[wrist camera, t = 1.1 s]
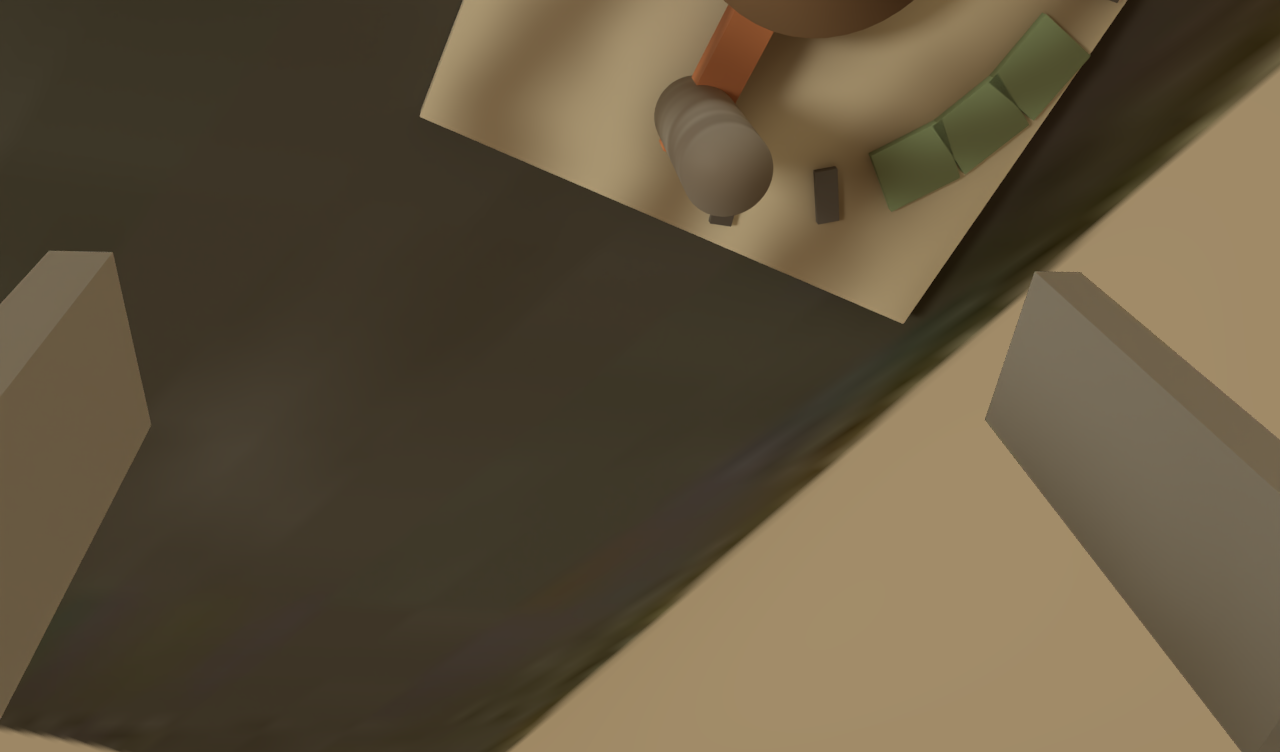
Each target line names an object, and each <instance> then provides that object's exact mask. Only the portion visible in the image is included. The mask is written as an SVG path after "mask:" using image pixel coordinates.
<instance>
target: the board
mask: <svg viewBox="0 0 1280 752" xmlns="http://www.w3.org/2000/svg"><path fill="white" fill-rule="evenodd" d="M1126 1H1127V0H913V1H912V2H911V3H910V4H908V5H907V6H906V7H904V8H903V9H902V10H900V11H899V12H897V13H896V14H894V15H892V16H891V17H889V18H887V19H886V20H884V21H882V22H880V23H878V24H875V25H873V26H871V27H869V28H866V29H864V30H861V31H857V32H854V33H851V34H847V35H843V36H836V37H830V38H801V37H793V36H788V35H784V34H780V33H777V32H773V34H772V36H771V38H770V40H769V42H768V44H767V45H766V47H765V49H764V51H763V53H762V55H761V57H760V58H759V60H758V62H757V64H756V66H755V68H754V70H753V72H752V73H751V75H750V77H749V79H748V81H747V83H746V85H745V86H744V88H743V90H742V92H741V94H740V96H739V98H738V100H737V101H736V103H735V104H736V105H737V107H738V108H739V109H740V111H741V112H742V113H743V115H744V116H745V117H746V119H747V120H748V121H749V122H750V124H751V125H752V126H753V128H754V129H755V130H756V132H757V133H758V134H759V136H760V137H761V138H762V140H763V141H764V142H765V144H766V145H767V147H768V148H769V150H770V153H771V156H772V160H773V176H772V181H771V183H770V186H769V188H768V190H767V192H766V193H765V195H764V196H763V198H762V199H761V200H760V201H759V202H758V203H757V204H756V205H755V206H753V207H752V208H751V209H749V210H747V211H745V212H743V213H741V214H738V215H734V216H727V217H720V216H714V215H710V214H707V213H705V212H703V211H701V210H700V209H698V208H697V207H696V206H695V205H694V204H693V203H692V202H691V201H690V199H689V198H688V196H687V194H686V192H685V190H684V188H683V186H682V184H681V182H680V179H679V177H678V175H677V173H676V171H675V169H674V167H673V165H672V162H671V160H670V158H669V156H668V154H667V152H665V151H663V149H662V147H661V144H660V142H659V140H660V137H659V135H658V132H657V130H656V127H655V121H654V113H655V107H656V104H657V101H658V99H659V97H660V95H661V94H662V92H663V91H664V90H665V89H666V88H667V87H668V86H669V85H670V84H671V83H673V82H674V81H676V80H678V79H680V78H682V77H686V76H691V75H693V73H694V71H695V69H696V67H697V65H698V63H699V61H700V59H701V57H702V55H703V53H704V51H705V49H706V47H707V45H708V43H709V41H710V39H711V37H712V35H713V34H714V32H715V30H716V28H717V26H718V24H719V22H720V20H721V18H722V16H723V14H724V12H725V10H726V8H727V6H728V4H727V3H726V2H725V1H724V0H463V1H462V4H461V6H460V9H459V12H458V14H457V17H456V19H455V22H454V25H453V27H452V30H451V33H450V35H449V38H448V40H447V43H446V46H445V48H444V51H443V53H442V56H441V59H440V61H439V64H438V66H437V69H436V72H435V74H434V77H433V79H432V82H431V85H430V87H429V90H428V92H427V95H426V98H425V100H424V103H423V105H422V109H421V114H420V117H421V118H424V119H426V120H428V121H431V122H433V123H435V124H438V125H440V126H442V127H445V128H447V129H449V130H452V131H454V132H456V133H459V134H461V135H463V136H466V137H468V138H470V139H473V140H475V141H477V142H480V143H482V144H484V145H487V146H489V147H491V148H494V149H496V150H498V151H501V152H503V153H505V154H508V155H510V156H512V157H515V158H517V159H519V160H522V161H524V162H526V163H529V164H531V165H533V166H536V167H538V168H540V169H543V170H545V171H547V172H550V173H552V174H554V175H557V176H559V177H561V178H564V179H566V180H568V181H571V182H573V183H575V184H578V185H580V186H582V187H585V188H587V189H589V190H592V191H594V192H596V193H599V194H601V195H603V196H606V197H608V198H610V199H613V200H615V201H617V202H620V203H622V204H624V205H627V206H629V207H631V208H634V209H636V210H638V211H641V212H643V213H645V214H648V215H650V216H652V217H655V218H657V219H659V220H662V221H664V222H666V223H669V224H671V225H673V226H676V227H678V228H680V229H683V230H685V231H687V232H690V233H692V234H694V235H697V236H699V237H701V238H704V239H706V240H708V241H711V242H713V243H715V244H718V245H720V246H722V247H725V248H727V249H729V250H732V251H734V252H736V253H739V254H741V255H743V256H746V257H748V258H750V259H753V260H755V261H757V262H760V263H762V264H764V265H767V266H769V267H771V268H774V269H776V270H779V271H781V272H783V273H785V274H788V275H790V276H793V277H795V278H797V279H800V280H802V281H804V282H807V283H809V284H811V285H814V286H816V287H818V288H821V289H823V290H825V291H828V292H830V293H832V294H835V295H837V296H839V297H842V298H844V299H846V300H849V301H851V302H853V303H856V304H858V305H860V306H863V307H865V308H867V309H870V310H872V311H874V312H877V313H879V314H881V315H884V316H886V317H888V318H891V319H893V320H895V321H898V322H900V323H902V324H904V322H905V321H906V319H907V318H908V316H909V315H910V313H911V312H912V311H913V309H914V308H915V306H916V305H917V303H918V302H919V300H920V299H921V298H922V296H923V295H924V293H925V292H926V290H927V289H928V287H929V286H930V285H931V283H932V282H933V280H934V279H935V277H936V276H937V274H938V273H939V272H940V270H941V269H942V267H943V266H944V264H945V263H946V261H947V260H948V259H949V257H950V256H951V254H952V253H953V251H954V250H955V248H956V247H957V246H958V244H959V243H960V241H961V240H962V238H963V237H964V235H965V234H966V233H967V231H968V230H969V228H970V227H971V225H972V224H973V222H974V221H975V220H976V218H977V217H978V215H979V214H980V212H981V211H982V209H983V208H984V207H985V205H986V204H987V202H988V201H989V199H990V198H991V196H992V195H993V194H994V192H995V191H996V189H997V188H998V186H999V185H1000V183H1001V182H1002V181H1003V179H1004V178H1005V176H1006V175H1007V173H1008V172H1009V170H1010V169H1011V168H1012V166H1013V165H1014V163H1015V162H1016V160H1017V159H1018V157H1019V156H1020V155H1021V153H1022V152H1023V150H1024V149H1025V147H1026V146H1027V144H1028V143H1029V142H1030V140H1031V139H1032V137H1033V136H1034V134H1035V133H1036V131H1037V130H1038V129H1039V127H1040V126H1041V124H1042V123H1043V121H1044V120H1045V118H1046V117H1047V116H1048V114H1049V113H1050V111H1051V110H1052V108H1053V107H1054V105H1055V104H1056V103H1057V101H1058V100H1059V98H1060V97H1061V95H1062V94H1063V92H1064V91H1065V90H1066V88H1067V87H1068V85H1069V84H1070V82H1071V81H1072V79H1073V78H1074V77H1075V75H1076V74H1077V72H1078V71H1079V69H1080V68H1081V66H1082V65H1083V64H1084V63H1085V62H1086V61H1087V60H1088V59H1089V57H1090V56H1091V55H1090V53H1091V52H1092V51H1093V49H1094V48H1095V46H1096V45H1097V43H1098V42H1099V40H1100V39H1101V38H1102V36H1103V35H1104V33H1105V32H1106V30H1107V29H1108V27H1109V26H1110V25H1111V23H1112V22H1113V20H1114V19H1115V17H1116V16H1117V14H1118V13H1119V12H1120V10H1121V9H1122V7H1123V6H1124V4H1125V3H1126Z"/></svg>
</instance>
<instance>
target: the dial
mask: <svg viewBox="0 0 1280 752" xmlns="http://www.w3.org/2000/svg"><path fill="white" fill-rule="evenodd" d="M724 1H725V2H726V3H727V4H728V6H727V8H726V10H725V12H724V14H723V16H722V18H721V20H720V22H719V24H718V26H717V28H716V30H715V32H714V34H713V35H712V37H711V39H710V41H709V43H708V45H707V47H706V49H705V51H704V53H703V55H702V57H701V59H700V61H699V63H698V65H697V67H696V69H695V71H694V73H693V75H691V76H686V77H682V78H680V79H678V80H676V81H674V82H673V83H671V84H670V85H669V86H668V87H667V88H666V89H665V90H664V91H663V92H662V94H661V95H660V97H659V99H658V101H657V104H656V107H655V113H654V121H655V127H656V130H657V132H658V135H659V137H660V140H659V142H660V144H661V147H662V149H663V151H665V152H667V154H668V156H669V158H670V160H671V162H672V165H673V167H674V169H675V171H676V173H677V175H678V177H679V179H680V182H681V184H682V186H683V188H684V190H685V192H686V194H687V196H688V198H689V199H690V201H691V202H692V203H693V204H694V205H695V206H696V207H697V208H698V209H700V210H701V211H703V212H705V213H707V214H710V215H714V216H720V217H727V216H734V215H738V214H741V213H743V212H745V211H747V210H749V209H751V208H752V207H753V206H755V205H756V204H757V203H758V202H759V201H760V200H761V199H762V198H763V196H764V195H765V193H766V192H767V190H768V188H769V186H770V183H771V181H772V176H773V160H772V156H771V153H770V150H769V148H768V147H767V145H766V144H765V142H764V141H763V140H762V138H761V137H760V136H759V134H758V133H757V132H756V130H755V129H754V128H753V126H752V125H751V124H750V122H749V121H748V120H747V119H746V117H745V116H744V115H743V113H742V112H741V111H740V109H739V108H738V107H737V105H736V104H735V103H736V101H737V100H738V98H739V96H740V94H741V92H742V90H743V88H744V86H745V85H746V83H747V81H748V79H749V77H750V75H751V73H752V72H753V70H754V68H755V66H756V64H757V62H758V60H759V58H760V57H761V55H762V53H763V51H764V49H765V47H766V45H767V44H768V42H769V40H770V38H771V36H772V34H773V32H777V33H780V34H784V35H788V36H793V37H801V38H830V37H836V36H843V35H847V34H851V33H854V32H857V31H861V30H864V29H866V28H869V27H871V26H873V25H875V24H878V23H880V22H882V21H884V20H886V19H887V18H889V17H891V16H892V15H894V14H896V13H897V12H899V11H900V10H902V9H903V8H904V7H906V6H907V5H908V4H910V3H911V2H912V1H913V0H724Z"/></svg>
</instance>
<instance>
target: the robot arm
mask: <svg viewBox="0 0 1280 752" xmlns="http://www.w3.org/2000/svg"><path fill="white" fill-rule="evenodd" d="M985 420H986V422H987V423H988V424H989V426H990V427H991V428H992V429H993V431H994V432H995V433H996V435H997V436H998V437H999V438H1000V440H1001V441H1002V442H1003V444H1004V445H1005V446H1006V448H1007V449H1008V450H1009V451H1010V453H1011V454H1012V455H1013V456H1014V458H1015V459H1016V460H1017V462H1018V463H1019V464H1020V466H1021V467H1022V468H1023V470H1024V471H1025V472H1026V473H1027V475H1028V476H1029V477H1030V479H1031V480H1032V481H1033V482H1034V484H1035V485H1036V486H1037V488H1038V489H1039V490H1040V492H1041V493H1042V494H1043V495H1044V497H1045V498H1046V499H1047V501H1048V502H1049V503H1050V504H1051V506H1052V507H1053V508H1054V510H1055V511H1056V512H1057V513H1058V515H1059V516H1060V517H1061V519H1062V520H1063V521H1064V523H1065V524H1066V525H1067V526H1068V528H1069V529H1070V530H1071V532H1072V533H1073V534H1074V536H1075V537H1076V538H1077V539H1078V541H1079V542H1080V543H1081V545H1082V546H1083V547H1084V549H1085V550H1086V551H1087V552H1088V554H1089V555H1090V556H1091V557H1092V559H1093V560H1094V561H1095V563H1096V564H1097V565H1098V567H1099V568H1100V569H1101V571H1102V572H1103V573H1104V574H1105V575H1106V577H1107V578H1108V580H1109V581H1110V582H1111V583H1112V585H1113V586H1114V587H1115V589H1116V590H1117V591H1118V592H1119V594H1120V595H1121V596H1122V598H1123V599H1124V600H1125V601H1126V603H1127V604H1128V605H1129V607H1130V608H1131V609H1132V611H1133V612H1134V613H1135V614H1136V616H1137V617H1138V618H1139V620H1140V621H1141V622H1142V623H1143V625H1144V626H1145V627H1146V629H1147V630H1148V631H1149V633H1150V634H1151V635H1152V637H1153V638H1154V639H1155V640H1156V642H1157V643H1158V644H1159V646H1160V647H1161V648H1162V649H1163V651H1164V652H1165V653H1166V655H1167V656H1168V657H1169V659H1170V660H1171V661H1172V662H1173V664H1174V665H1175V666H1176V668H1177V669H1178V670H1179V671H1180V673H1181V674H1182V675H1183V677H1184V678H1185V679H1186V681H1187V682H1188V683H1189V684H1190V685H1191V687H1192V688H1193V689H1194V691H1195V692H1196V693H1197V695H1198V696H1199V697H1200V699H1201V700H1202V701H1203V703H1204V704H1205V705H1206V706H1207V708H1208V709H1209V710H1210V712H1211V713H1212V714H1213V715H1214V717H1215V718H1216V719H1217V721H1218V722H1219V723H1220V724H1221V726H1222V727H1223V728H1224V730H1225V731H1226V732H1227V734H1228V735H1229V736H1230V737H1231V739H1232V740H1233V741H1234V743H1235V744H1236V745H1237V747H1238V748H1239V749H1240V750H1241V751H1242V752H1280V440H1279V439H1278V438H1277V437H1276V436H1275V435H1273V434H1272V433H1271V432H1270V431H1269V430H1268V429H1266V428H1265V427H1264V426H1263V425H1262V424H1260V423H1259V422H1258V421H1257V420H1256V419H1254V418H1253V417H1252V416H1251V415H1250V414H1248V413H1247V412H1246V411H1245V410H1244V409H1242V408H1241V407H1240V406H1239V405H1238V404H1237V403H1235V402H1234V401H1233V400H1232V399H1231V398H1229V397H1228V396H1227V395H1226V394H1224V393H1223V392H1222V391H1221V390H1220V389H1219V388H1218V387H1216V386H1215V385H1214V384H1213V383H1212V382H1210V381H1209V380H1208V379H1207V378H1206V377H1204V376H1203V375H1202V374H1201V373H1199V372H1198V371H1197V370H1196V369H1195V368H1193V367H1192V366H1191V365H1190V364H1189V363H1188V362H1187V361H1185V360H1184V359H1183V358H1182V357H1180V356H1179V355H1178V354H1177V353H1176V352H1175V351H1173V350H1172V349H1171V348H1170V347H1168V346H1167V345H1166V344H1165V343H1164V342H1163V341H1162V340H1160V339H1159V338H1158V337H1157V336H1155V335H1154V334H1153V333H1152V332H1151V331H1149V330H1148V329H1147V328H1146V327H1145V326H1144V325H1142V324H1141V323H1140V322H1139V321H1138V320H1136V319H1135V318H1134V317H1133V316H1132V315H1130V314H1129V313H1128V312H1127V311H1126V310H1125V309H1123V308H1122V307H1121V306H1120V305H1118V304H1117V303H1116V302H1115V301H1114V300H1112V299H1111V298H1110V297H1109V296H1108V295H1107V294H1105V293H1104V292H1103V291H1102V290H1101V289H1100V288H1098V287H1097V286H1096V285H1095V284H1094V283H1092V282H1091V281H1090V280H1089V279H1088V278H1086V277H1085V276H1084V275H1083V274H1082V273H1080V272H1037V271H1035V272H1034V275H1033V278H1032V281H1031V284H1030V287H1029V290H1028V293H1027V296H1026V299H1025V302H1024V305H1023V308H1022V311H1021V314H1020V317H1019V320H1018V323H1017V326H1016V329H1015V332H1014V335H1013V338H1012V341H1011V344H1010V346H1009V350H1008V353H1007V355H1006V358H1005V361H1004V364H1003V367H1002V370H1001V373H1000V376H999V379H998V382H997V385H996V388H995V391H994V394H993V397H992V400H991V403H990V406H989V409H988V412H987V415H986V418H985ZM150 426H151V422H150V418H149V413H148V409H147V404H146V400H145V395H144V391H143V386H142V382H141V377H140V373H139V368H138V364H137V359H136V355H135V350H134V346H133V341H132V337H131V332H130V328H129V323H128V319H127V314H126V310H125V305H124V301H123V296H122V292H121V287H120V283H119V278H118V274H117V269H116V265H115V260H114V256H113V252H80V251H48V253H47V254H46V255H45V256H44V257H43V258H42V259H41V260H40V261H39V262H38V264H37V265H36V266H35V267H34V268H33V269H32V270H31V271H30V272H29V273H28V274H27V276H26V277H25V278H24V279H23V280H22V281H21V282H20V283H19V284H18V285H17V286H16V288H15V289H14V290H13V291H12V292H11V293H10V294H9V295H8V296H7V297H6V299H5V300H4V301H3V302H2V303H1V304H0V719H1V717H2V715H3V713H4V711H5V709H6V707H7V705H8V703H9V701H10V699H11V697H12V695H13V693H14V691H15V689H16V688H17V686H18V684H19V682H20V680H21V678H22V676H23V674H24V672H25V670H26V668H27V666H28V664H29V662H30V660H31V658H32V656H33V654H34V652H35V650H36V649H37V647H38V645H39V643H40V641H41V639H42V637H43V635H44V633H45V631H46V629H47V627H48V625H49V623H50V621H51V619H52V617H53V615H54V613H55V611H56V610H57V608H58V606H59V604H60V602H61V600H62V598H63V596H64V594H65V592H66V590H67V588H68V586H69V584H70V582H71V580H72V578H73V576H74V574H75V572H76V571H77V569H78V567H79V565H80V563H81V561H82V559H83V557H84V555H85V553H86V551H87V549H88V547H89V545H90V543H91V541H92V539H93V537H94V535H95V533H96V532H97V530H98V528H99V526H100V524H101V522H102V520H103V518H104V516H105V514H106V512H107V510H108V508H109V506H110V504H111V502H112V500H113V498H114V496H115V494H116V493H117V491H118V489H119V487H120V485H121V483H122V481H123V479H124V477H125V475H126V473H127V471H128V469H129V467H130V465H131V463H132V461H133V459H134V457H135V455H136V454H137V452H138V450H139V448H140V446H141V444H142V442H143V440H144V438H145V436H146V434H147V432H148V430H149V428H150Z"/></svg>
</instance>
